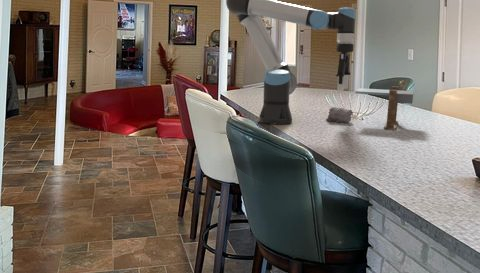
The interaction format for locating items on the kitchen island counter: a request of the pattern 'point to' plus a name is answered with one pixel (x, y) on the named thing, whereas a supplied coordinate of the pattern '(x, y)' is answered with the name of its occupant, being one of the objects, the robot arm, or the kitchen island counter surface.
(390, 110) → the frame
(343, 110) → the stone
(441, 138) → the kitchen island counter surface
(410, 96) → the trapdoor
